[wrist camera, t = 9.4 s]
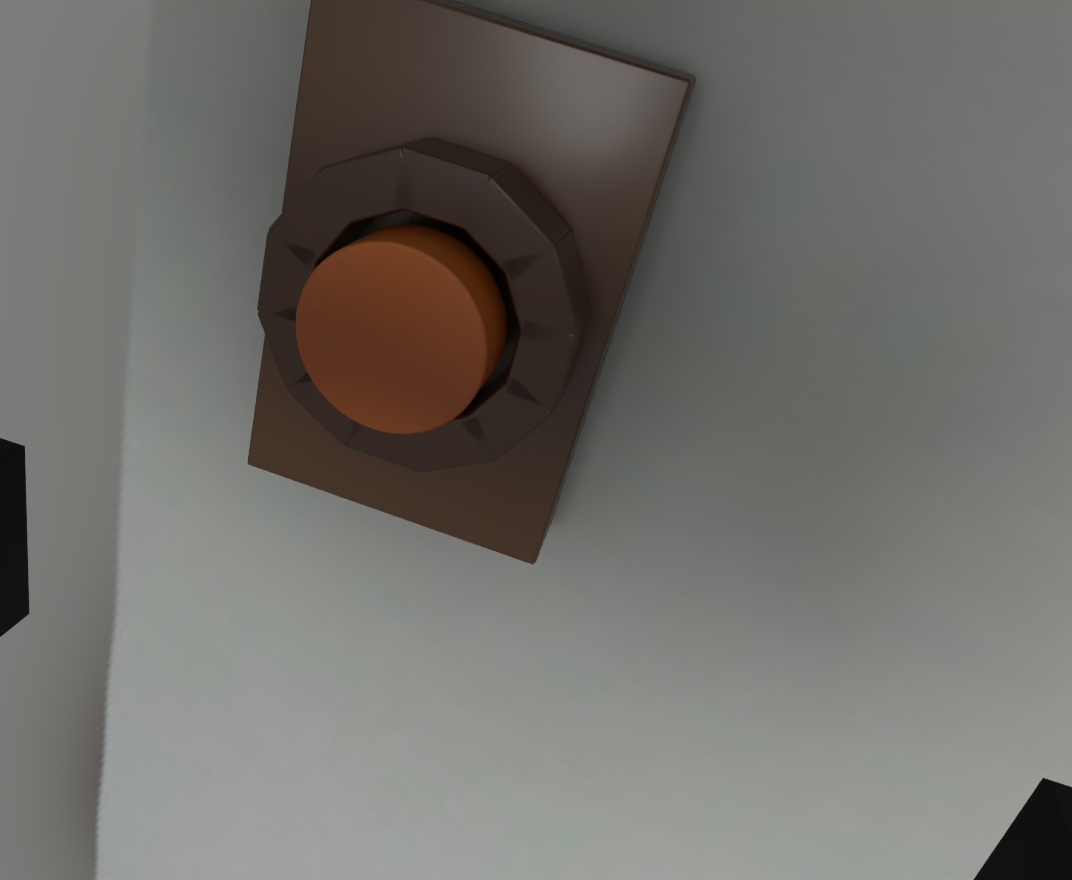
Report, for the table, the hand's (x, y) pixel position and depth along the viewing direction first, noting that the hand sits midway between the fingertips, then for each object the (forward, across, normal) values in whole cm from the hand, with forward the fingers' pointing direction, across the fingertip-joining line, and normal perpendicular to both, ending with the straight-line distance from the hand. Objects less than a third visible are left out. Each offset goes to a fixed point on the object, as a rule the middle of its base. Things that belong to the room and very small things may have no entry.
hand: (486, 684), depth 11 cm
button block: (+12, -4, +1) cm, 13 cm away
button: (+9, -4, +1) cm, 10 cm away
